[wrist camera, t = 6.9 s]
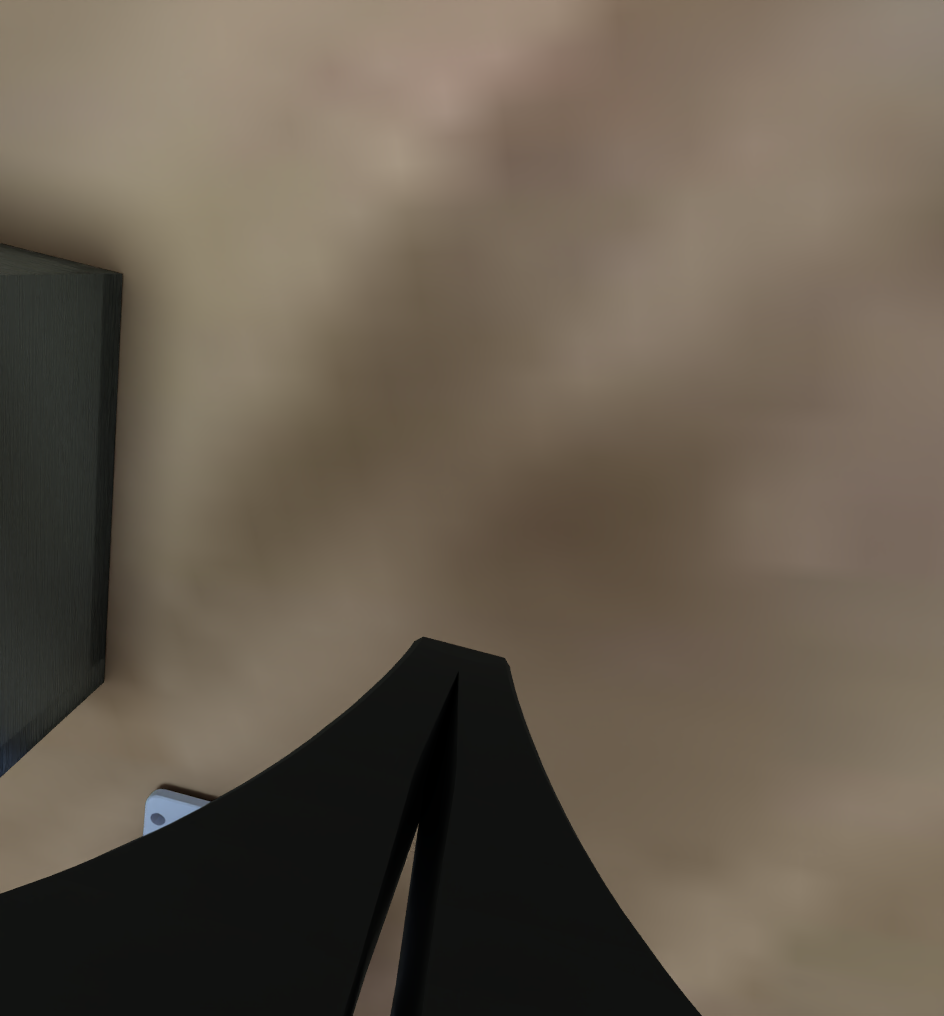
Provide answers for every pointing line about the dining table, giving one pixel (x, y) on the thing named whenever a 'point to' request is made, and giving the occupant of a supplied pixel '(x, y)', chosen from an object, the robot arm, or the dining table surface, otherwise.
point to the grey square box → (54, 487)
